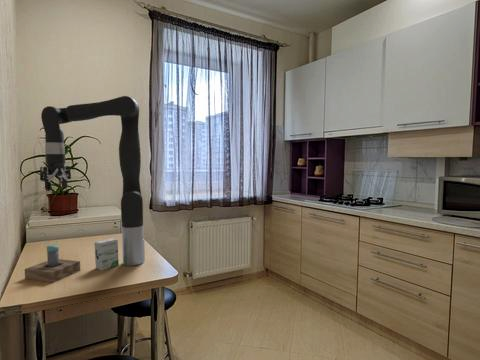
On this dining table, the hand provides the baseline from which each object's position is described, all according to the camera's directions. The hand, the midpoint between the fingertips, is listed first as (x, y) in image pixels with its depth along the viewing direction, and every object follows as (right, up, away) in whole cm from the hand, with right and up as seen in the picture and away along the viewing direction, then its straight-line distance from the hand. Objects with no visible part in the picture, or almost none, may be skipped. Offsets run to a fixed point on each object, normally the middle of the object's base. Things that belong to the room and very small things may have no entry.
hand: (56, 189), depth 141 cm
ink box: (+22, -34, 0) cm, 41 cm away
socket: (+4, -35, -9) cm, 36 cm away
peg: (+4, -35, -9) cm, 36 cm away
